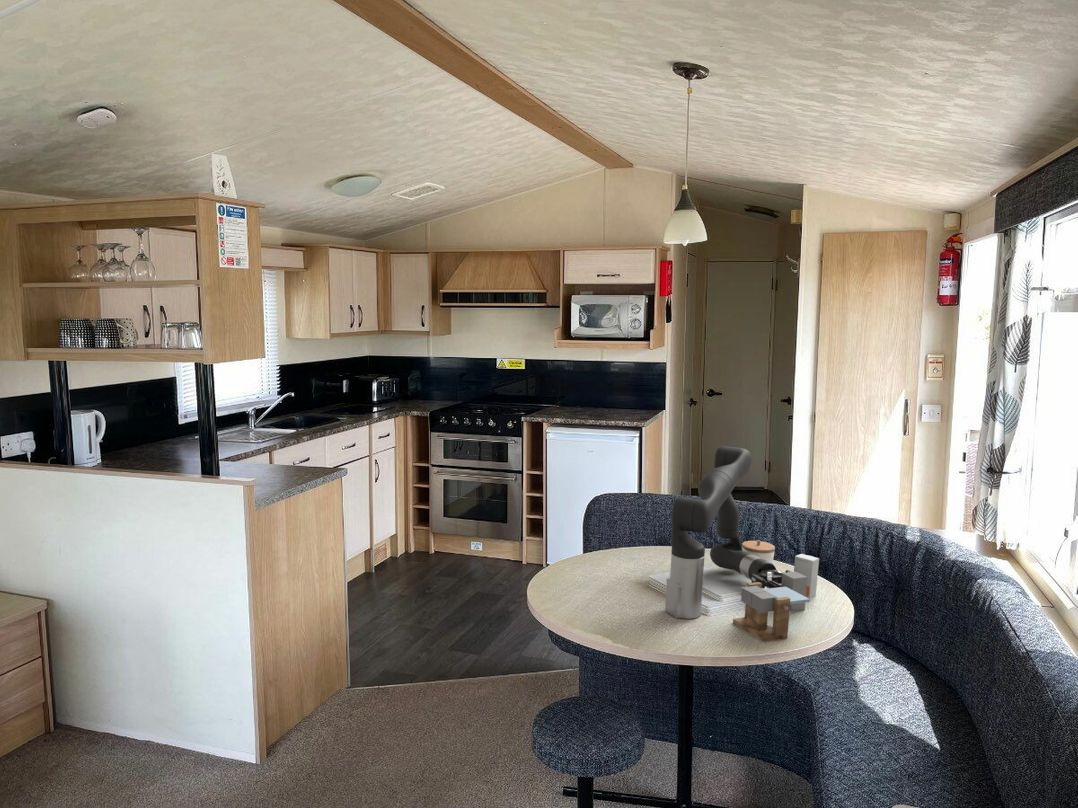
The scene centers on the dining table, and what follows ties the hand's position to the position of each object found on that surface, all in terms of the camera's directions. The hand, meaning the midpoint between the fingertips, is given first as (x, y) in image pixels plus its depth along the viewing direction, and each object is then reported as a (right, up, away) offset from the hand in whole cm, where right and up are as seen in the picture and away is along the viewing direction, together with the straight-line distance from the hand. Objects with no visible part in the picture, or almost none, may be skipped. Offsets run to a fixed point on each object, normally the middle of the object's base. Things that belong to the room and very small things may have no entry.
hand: (792, 587), depth 239 cm
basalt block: (0, -6, 0) cm, 6 cm away
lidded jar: (-1, -2, +36) cm, 36 cm away
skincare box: (+7, -5, +12) cm, 15 cm away
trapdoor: (-10, -1, -17) cm, 20 cm away
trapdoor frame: (-14, -8, -17) cm, 24 cm away
